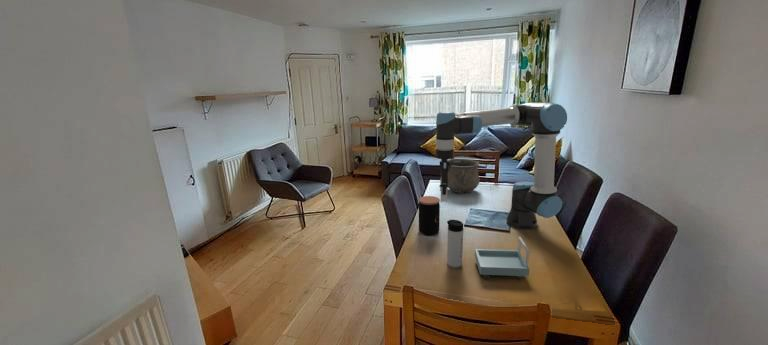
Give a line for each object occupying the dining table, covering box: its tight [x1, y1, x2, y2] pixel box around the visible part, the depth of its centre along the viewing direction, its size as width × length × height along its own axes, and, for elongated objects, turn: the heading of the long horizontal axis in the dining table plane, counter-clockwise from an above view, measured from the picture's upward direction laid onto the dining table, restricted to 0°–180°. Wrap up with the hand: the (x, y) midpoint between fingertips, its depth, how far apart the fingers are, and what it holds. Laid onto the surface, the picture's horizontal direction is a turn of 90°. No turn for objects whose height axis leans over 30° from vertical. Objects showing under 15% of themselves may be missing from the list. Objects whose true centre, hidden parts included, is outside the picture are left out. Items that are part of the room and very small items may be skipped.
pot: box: [447, 158, 481, 193], centre depth 224 cm, size 25×24×21 cm
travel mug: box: [446, 219, 464, 270], centre depth 132 cm, size 6×7×20 cm
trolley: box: [474, 236, 531, 281], centre depth 128 cm, size 18×14×12 cm
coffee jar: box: [418, 195, 441, 237], centre depth 163 cm, size 11×11×18 cm
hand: (443, 196), depth 140 cm, fingers open, 13 cm apart
